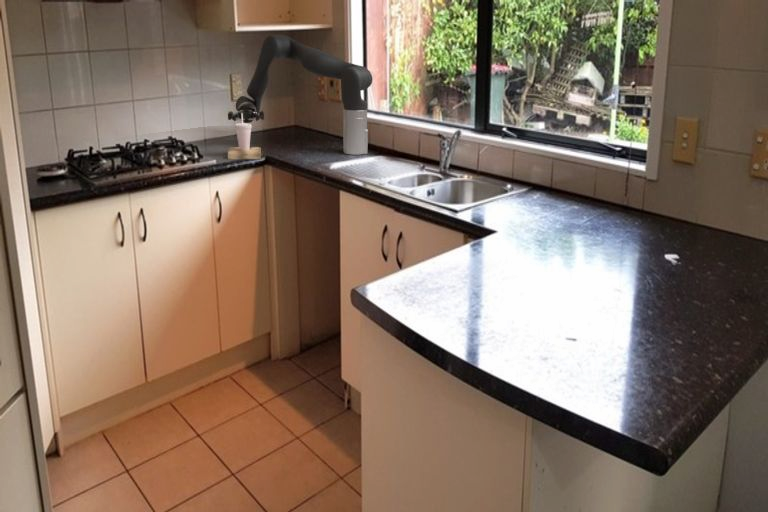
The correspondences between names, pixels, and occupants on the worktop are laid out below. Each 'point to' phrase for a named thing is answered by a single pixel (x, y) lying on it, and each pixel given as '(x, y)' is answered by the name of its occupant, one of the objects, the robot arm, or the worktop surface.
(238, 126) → the smoothie
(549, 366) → the worktop surface
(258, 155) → the board
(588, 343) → the worktop surface
